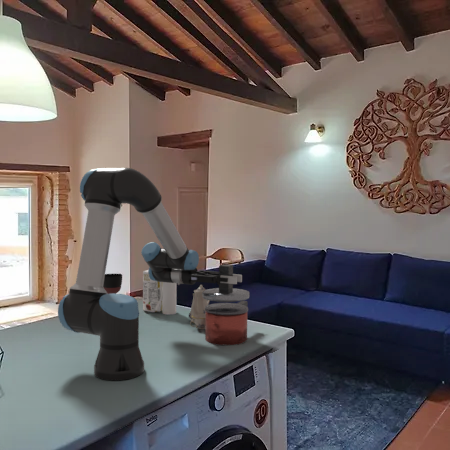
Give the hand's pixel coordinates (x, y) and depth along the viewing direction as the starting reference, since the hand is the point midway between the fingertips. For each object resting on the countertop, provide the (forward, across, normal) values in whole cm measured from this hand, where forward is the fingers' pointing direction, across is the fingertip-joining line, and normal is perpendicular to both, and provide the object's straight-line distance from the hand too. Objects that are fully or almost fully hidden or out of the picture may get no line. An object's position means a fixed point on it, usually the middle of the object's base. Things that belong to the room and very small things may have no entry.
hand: (238, 279), depth 179 cm
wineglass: (-60, -1, -23) cm, 64 cm away
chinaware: (-23, -18, -24) cm, 37 cm away
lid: (-5, 0, -7) cm, 9 cm away
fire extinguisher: (-46, -24, -24) cm, 57 cm away
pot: (-5, -5, -23) cm, 24 cm away
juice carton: (-55, -25, -24) cm, 65 cm away
